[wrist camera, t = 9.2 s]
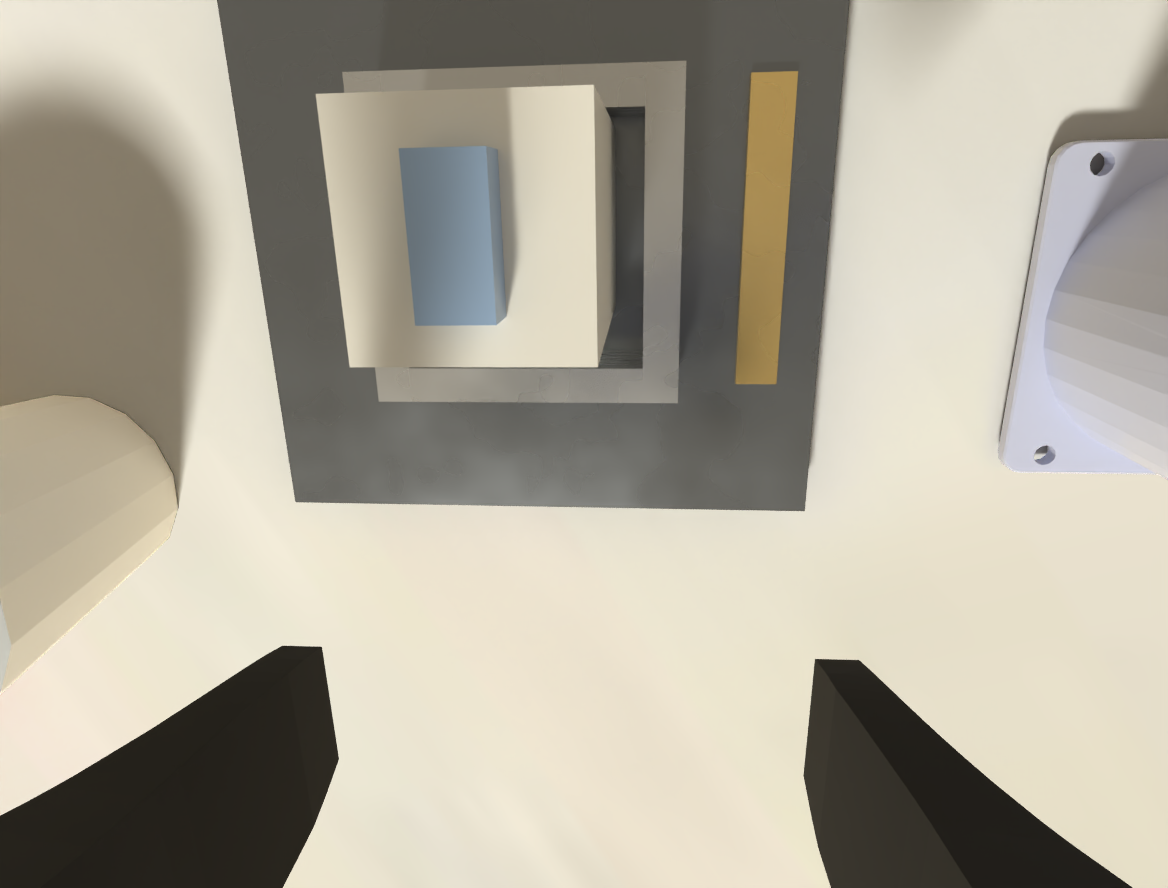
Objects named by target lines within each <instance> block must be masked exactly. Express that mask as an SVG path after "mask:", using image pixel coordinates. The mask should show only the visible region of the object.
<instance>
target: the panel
mask: <svg viewBox="0 0 1168 888" xmlns="http://www.w3.org/2000/svg"><path fill="white" fill-rule="evenodd" d="M217 3H218V9H219V15H220V22H221V28H222V35H223V41H224V47H225V54H226V60H227V66H228V73H229V79H230V86H231V92H232V98H233V105H234V111H235V118H236V124H237V130H238V137H239V143H240V150H241V156H242V162H243V169H244V175H245V182H246V188H247V194H248V201H249V207H250V214H251V220H252V226H253V233H254V239H255V246H256V252H257V258H258V265H259V271H260V278H261V284H262V290H263V297H264V303H265V310H266V316H267V322H268V329H269V335H270V342H271V348H272V354H273V361H274V367H275V373H276V380H277V386H278V393H279V399H280V405H281V412H282V418H283V425H284V431H285V437H286V444H287V450H288V457H289V463H290V469H291V476H292V482H293V489H294V495H295V501H296V502H320V503H377V504H433V505H490V506H547V507H604V508H660V509H717V510H774V511H805V501H806V489H807V478H808V467H809V455H810V444H811V432H812V421H813V409H814V398H815V386H816V375H817V364H818V352H819V341H820V329H821V318H822V306H823V295H824V283H825V272H826V261H827V249H828V238H829V226H830V215H831V203H832V192H833V180H834V169H835V157H836V146H837V135H838V123H839V112H840V100H841V89H842V77H843V66H844V54H845V43H846V32H847V20H848V9H849V0H217ZM571 85H594V86H595V88H596V90H597V92H598V94H599V96H600V98H601V100H602V102H603V104H604V106H605V108H606V110H607V112H608V114H609V116H610V118H611V120H612V122H613V125H614V127H615V211H616V305H615V309H614V312H613V316H612V319H611V323H610V326H609V330H608V333H607V337H606V340H605V344H604V347H603V351H602V354H601V357H600V361H599V364H598V367H350V366H349V358H348V350H347V342H346V334H345V326H344V318H343V310H342V302H341V294H340V286H339V278H338V270H337V262H336V254H335V246H334V238H333V230H332V221H331V213H330V205H329V197H328V189H327V181H326V173H325V165H324V157H323V149H322V141H321V133H320V125H319V117H318V109H317V101H316V94H327V93H357V92H388V91H418V90H449V89H479V88H510V87H540V86H571Z"/></svg>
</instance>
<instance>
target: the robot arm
mask: <svg viewBox="0 0 1168 888" xmlns="http://www.w3.org/2000/svg"><path fill="white" fill-rule="evenodd" d="M1097 153H1101V154H1102V156H1103V157H1104V163H1105V164H1104V166H1103V169H1102V171H1100V172H1099V173H1098V174H1097V175H1094V174H1093V173H1092V172H1091V171H1090V162H1091V160H1092V158H1093V157H1094V156H1095V155H1096V154H1097ZM1046 445H1047V447H1048V451H1047V453H1046V455H1045V456H1044V457H1042V458H1041V459H1037V460H1034V454H1035V452H1036V450H1037V449H1039V448H1040V447H1042V446H1046ZM998 458H999V459H1000V461H1001V463H1002V464H1003V465H1005V466H1006V467H1007V468H1009V469H1010V470H1012V471H1015V472H1020V473H1095V474H1158V475H1160V476H1161V477H1163V478H1165V479H1167V480H1168V138H1166V139H1122V140H1082V141H1074V142H1070V143H1066V144H1064V145H1062V146H1061V147H1059V148H1058V149H1057V150H1056V151H1055V152H1054V154H1053V155H1052V156H1051V158H1050V161H1049V164H1048V168H1047V174H1046V179H1045V185H1044V191H1043V196H1042V202H1041V208H1040V214H1039V219H1038V225H1037V231H1036V236H1035V242H1034V248H1033V254H1032V259H1031V265H1030V271H1029V276H1028V282H1027V288H1026V294H1025V299H1024V305H1023V311H1022V316H1021V322H1020V328H1019V334H1018V339H1017V345H1016V351H1015V356H1014V362H1013V368H1012V373H1011V379H1010V385H1009V391H1008V396H1007V402H1006V408H1005V413H1004V419H1003V425H1002V431H1001V436H1000V442H999V448H998ZM338 760H339V757H338V751H337V744H336V737H335V731H334V724H333V718H332V711H331V705H330V698H329V691H328V685H327V678H326V672H325V665H324V658H323V652H322V647H306V646H281V647H279V648H278V649H276V650H274V651H272V652H270V653H269V654H267V655H265V656H264V657H262V658H260V659H259V660H257V661H256V662H254V663H252V664H251V665H249V666H248V667H246V668H245V669H243V670H241V671H240V672H238V673H237V674H235V675H234V676H232V677H231V678H229V679H228V680H226V681H225V682H223V683H222V684H220V685H218V686H217V687H215V688H214V689H212V690H211V691H209V692H208V693H206V694H205V695H203V696H202V697H200V698H199V699H197V700H196V701H194V702H192V703H191V704H189V705H188V706H186V707H185V708H183V709H182V710H180V711H179V712H177V713H175V714H174V715H172V716H171V717H169V718H168V719H166V720H165V721H163V722H162V723H160V724H159V725H157V726H155V727H154V728H152V729H151V730H149V731H147V732H146V733H144V734H142V735H141V736H139V737H137V738H136V739H134V740H133V741H131V742H129V743H128V744H126V745H124V746H123V747H121V748H119V749H118V750H116V751H114V752H113V753H111V754H109V755H108V756H106V757H104V758H103V759H101V760H99V761H98V762H96V763H94V764H93V765H91V766H89V767H88V768H86V769H85V770H83V771H81V772H80V773H78V774H76V775H75V776H73V777H71V778H69V779H68V780H66V781H64V782H62V783H60V784H59V785H57V786H55V787H53V788H52V789H50V790H48V791H46V792H44V793H42V794H41V795H39V796H37V797H35V798H33V799H31V800H30V801H28V802H26V803H24V804H22V805H20V806H18V807H16V808H14V809H12V810H10V811H8V812H7V813H5V814H3V815H1V816H0V888H283V886H284V884H285V882H286V880H287V878H288V876H289V874H290V872H291V870H292V868H293V866H294V865H295V863H296V861H297V859H298V857H299V855H300V853H301V851H302V849H303V847H304V845H305V843H306V841H307V839H308V837H309V835H310V833H311V831H312V829H313V827H314V825H315V822H316V820H317V817H318V814H319V812H320V809H321V807H322V804H323V802H324V799H325V796H326V794H327V791H328V788H329V785H330V782H331V780H332V777H333V774H334V771H335V768H336V766H337V763H338ZM804 780H805V785H806V790H807V795H808V800H809V805H810V811H811V816H812V820H813V825H814V830H815V834H816V839H817V844H818V848H819V851H820V854H821V858H822V861H823V864H824V867H825V870H826V873H827V876H828V879H829V883H830V886H831V888H1132V887H1131V886H1129V885H1128V884H1127V883H1125V882H1124V881H1122V880H1121V879H1120V878H1118V877H1117V876H1115V875H1114V874H1112V873H1111V872H1110V871H1108V870H1107V869H1105V868H1104V867H1103V866H1101V865H1100V864H1098V863H1097V862H1096V861H1094V860H1093V859H1091V858H1090V857H1089V856H1087V855H1086V854H1084V853H1083V852H1082V851H1080V850H1079V849H1077V848H1076V847H1075V846H1073V845H1072V844H1070V843H1069V842H1068V841H1066V840H1065V839H1064V838H1062V837H1061V836H1060V835H1058V834H1057V833H1056V832H1054V831H1053V830H1052V829H1051V828H1049V827H1048V826H1047V825H1045V824H1044V823H1043V822H1041V821H1040V820H1039V819H1038V818H1036V817H1035V816H1034V815H1033V814H1031V813H1030V812H1029V811H1028V810H1026V809H1025V808H1024V807H1023V806H1022V805H1020V804H1019V803H1018V802H1017V801H1015V800H1014V799H1013V798H1012V797H1010V796H1009V795H1008V794H1007V793H1005V792H1004V791H1003V790H1002V789H1000V788H999V787H998V786H997V785H996V784H994V783H993V782H992V781H991V780H990V779H989V778H987V777H986V776H985V775H984V774H983V773H981V772H980V771H979V770H978V769H977V768H976V767H974V766H973V765H972V764H971V763H970V762H969V761H968V760H966V759H965V758H964V757H963V756H962V755H961V754H960V753H958V752H957V751H956V750H955V749H954V748H953V747H952V746H951V745H950V744H948V743H947V742H946V741H945V740H944V739H943V738H942V737H941V736H940V735H938V734H937V733H936V732H935V731H934V730H933V729H932V728H931V727H930V726H929V725H928V724H926V723H925V722H924V721H923V720H922V719H921V718H920V717H919V716H918V715H917V714H916V713H915V712H914V711H913V710H912V709H910V708H909V707H908V706H907V705H906V704H905V703H904V702H903V701H902V700H901V699H900V698H899V697H898V696H897V695H896V694H895V693H894V692H893V691H892V690H890V689H889V688H888V687H887V686H886V685H885V684H884V683H883V682H882V681H881V680H880V679H879V678H878V677H877V676H876V675H875V674H874V673H873V672H872V671H870V670H869V669H868V668H867V667H866V666H865V665H864V664H863V663H862V662H861V661H859V660H829V659H815V665H814V675H813V686H812V696H811V706H810V716H809V726H808V737H807V747H806V757H805V767H804Z"/></svg>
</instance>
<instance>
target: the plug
mask: <svg viewBox="0 0 1168 888" xmlns="http://www.w3.org/2000/svg"><path fill="white" fill-rule="evenodd" d="M316 101H317V109H318V117H319V125H320V133H321V141H322V149H323V157H324V165H325V173H326V181H327V189H328V197H329V205H330V213H331V221H332V230H333V238H334V246H335V254H336V262H337V270H338V278H339V286H340V294H341V302H342V310H343V318H344V326H345V334H346V342H347V350H348V358H349V366H350V367H598V364H599V361H600V357H601V354H602V351H603V347H604V344H605V340H606V337H607V333H608V330H609V326H610V323H611V319H612V316H613V312H614V309H615V305H616V211H615V127H614V125H613V122H612V120H611V118H610V116H609V114H608V112H607V110H606V108H605V106H604V104H603V102H602V100H601V98H600V96H599V94H598V92H597V90H596V88H595V86H594V85H571V86H540V87H510V88H479V89H449V90H418V91H388V92H357V93H327V94H316Z"/></svg>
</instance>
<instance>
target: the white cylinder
mask: <svg viewBox="0 0 1168 888" xmlns="http://www.w3.org/2000/svg"><path fill="white" fill-rule="evenodd" d="M177 511H178V504H177V497H176V490H175V483H174V476H173V473H172V471H171V470H170V468H169V466H168V464H167V462H166V460H165V459H164V457H163V455H162V453H161V451H160V450H159V448H158V446H157V444H156V442H155V441H154V440H153V439H152V438H151V437H150V436H149V435H148V434H146V433H145V432H144V431H143V430H142V429H141V428H140V427H139V426H138V425H137V424H136V423H135V422H134V421H132V420H131V419H130V418H129V417H128V416H127V415H126V414H124V413H122V412H120V411H118V410H116V409H113V408H111V407H109V406H107V405H105V404H102V403H100V402H98V401H96V400H94V399H92V398H87V397H74V396H60V395H51V396H47V397H42V398H37V399H33V400H28V401H24V402H19V403H14V404H10V405H5V406H0V695H1V694H2V693H3V692H4V691H5V690H6V689H7V688H8V687H9V686H10V685H12V684H13V683H14V682H15V681H16V680H17V679H18V678H19V677H20V676H21V675H22V674H23V673H25V672H26V671H27V670H28V669H29V668H30V667H31V666H32V665H33V664H34V663H35V662H36V661H38V660H39V659H40V658H41V657H42V656H43V655H44V654H45V653H46V652H47V651H48V650H50V649H51V648H52V647H53V646H54V645H55V644H56V643H57V642H58V641H59V640H60V639H61V638H63V637H64V636H65V635H66V634H67V633H68V632H69V631H70V630H71V629H72V628H73V627H74V626H76V625H77V624H78V623H79V622H80V621H81V620H82V619H83V618H84V617H85V616H86V615H87V614H89V613H90V612H91V611H92V610H93V609H94V608H95V607H96V606H97V605H98V604H99V603H101V602H102V601H103V600H104V599H105V598H106V597H107V596H108V595H109V594H110V593H111V592H112V591H114V590H115V589H116V588H117V587H118V586H119V585H120V584H121V583H122V582H123V581H124V580H125V579H127V578H128V577H129V576H130V575H131V574H132V573H133V572H134V571H135V570H136V569H137V568H138V567H140V566H141V565H142V564H143V563H144V562H145V561H146V560H147V559H148V558H149V557H150V556H151V555H152V554H153V553H154V552H155V551H156V550H157V549H158V548H159V547H160V546H161V545H162V544H163V543H164V542H165V541H166V540H167V539H168V538H169V537H170V534H171V530H172V527H173V524H174V520H175V517H176V514H177Z"/></svg>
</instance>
